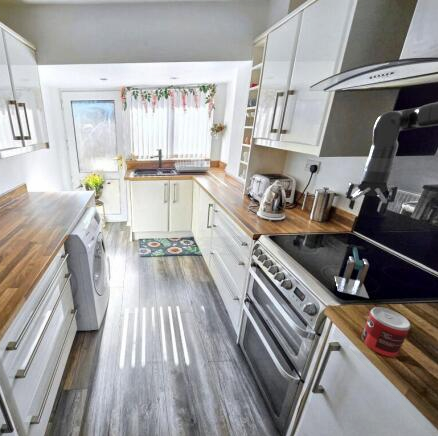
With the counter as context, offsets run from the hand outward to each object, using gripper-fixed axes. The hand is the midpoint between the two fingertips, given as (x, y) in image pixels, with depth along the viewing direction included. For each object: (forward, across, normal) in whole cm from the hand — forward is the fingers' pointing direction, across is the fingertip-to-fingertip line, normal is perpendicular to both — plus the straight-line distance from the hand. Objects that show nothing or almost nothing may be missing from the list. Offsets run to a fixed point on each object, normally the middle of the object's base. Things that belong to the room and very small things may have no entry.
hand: (364, 210), depth 95 cm
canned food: (+28, -2, +43) cm, 52 cm away
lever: (+17, +1, +10) cm, 20 cm away
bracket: (+28, +1, +15) cm, 32 cm away
